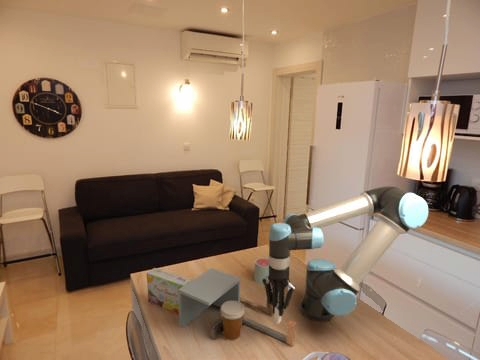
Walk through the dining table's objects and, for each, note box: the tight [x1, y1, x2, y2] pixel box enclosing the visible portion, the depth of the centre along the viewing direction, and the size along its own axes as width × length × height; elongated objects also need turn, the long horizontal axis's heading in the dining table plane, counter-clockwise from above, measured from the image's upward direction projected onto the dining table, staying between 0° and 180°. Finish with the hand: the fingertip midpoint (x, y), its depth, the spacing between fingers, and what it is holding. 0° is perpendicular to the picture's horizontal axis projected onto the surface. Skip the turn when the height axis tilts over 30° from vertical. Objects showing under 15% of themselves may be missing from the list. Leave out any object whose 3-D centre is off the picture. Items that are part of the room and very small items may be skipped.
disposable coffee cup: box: [219, 301, 246, 341], centre depth 120 cm, size 10×10×12 cm
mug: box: [253, 257, 269, 286], centre depth 162 cm, size 14×9×10 cm
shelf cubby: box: [178, 267, 241, 329], centre depth 127 cm, size 15×21×17 cm
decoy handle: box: [240, 297, 274, 318], centre depth 138 cm, size 20×2×8 cm, turn 57°
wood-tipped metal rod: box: [211, 316, 297, 347], centre depth 117 cm, size 27×16×8 cm, turn 57°
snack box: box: [146, 267, 193, 315], centre depth 136 cm, size 21×6×15 cm, turn 62°
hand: (277, 321), depth 119 cm, fingers closed
